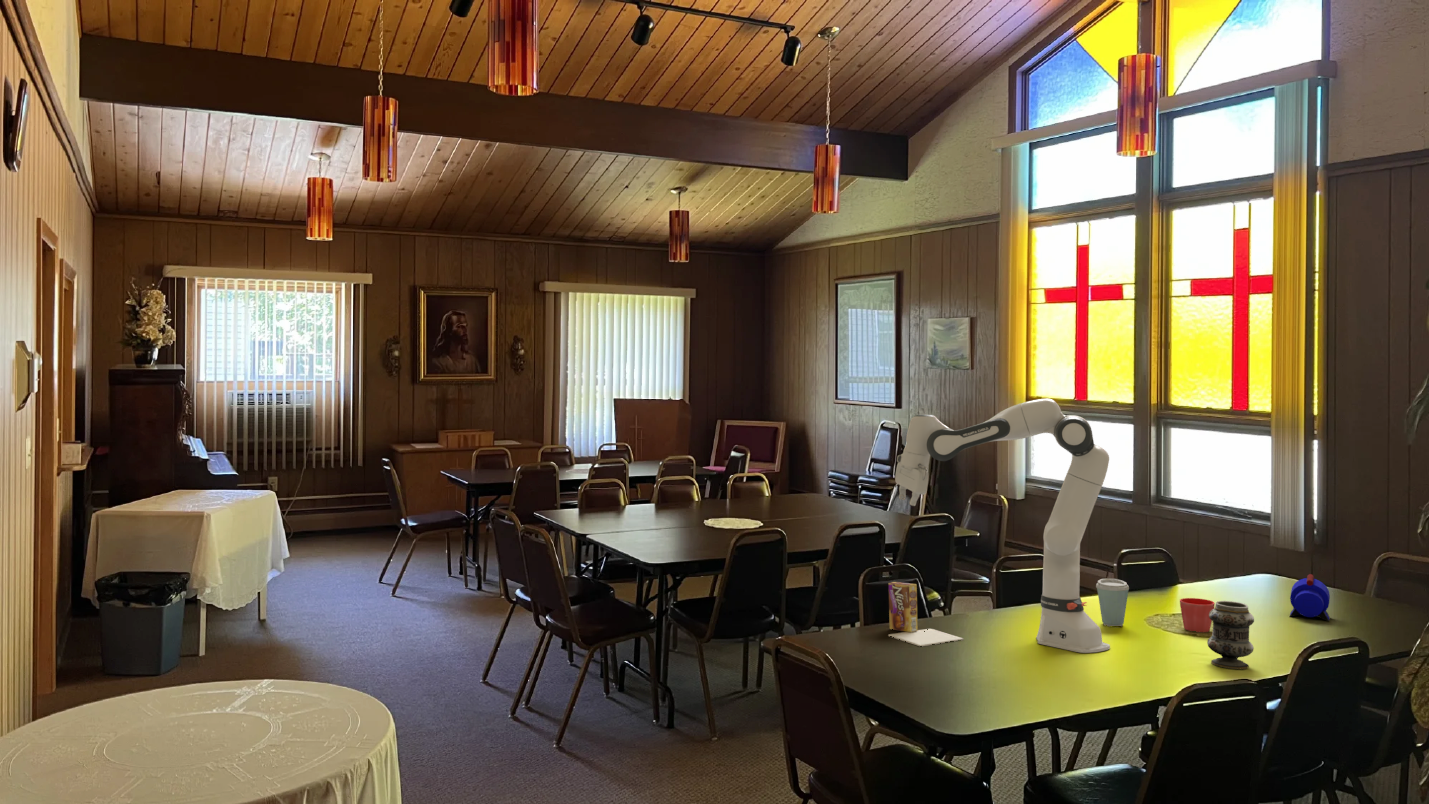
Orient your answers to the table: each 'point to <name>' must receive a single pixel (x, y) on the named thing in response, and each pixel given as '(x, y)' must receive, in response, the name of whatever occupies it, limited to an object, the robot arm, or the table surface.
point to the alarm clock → (1310, 598)
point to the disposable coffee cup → (1112, 601)
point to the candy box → (903, 606)
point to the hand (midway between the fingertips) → (907, 502)
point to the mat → (925, 637)
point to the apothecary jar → (1230, 634)
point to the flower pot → (1196, 614)
